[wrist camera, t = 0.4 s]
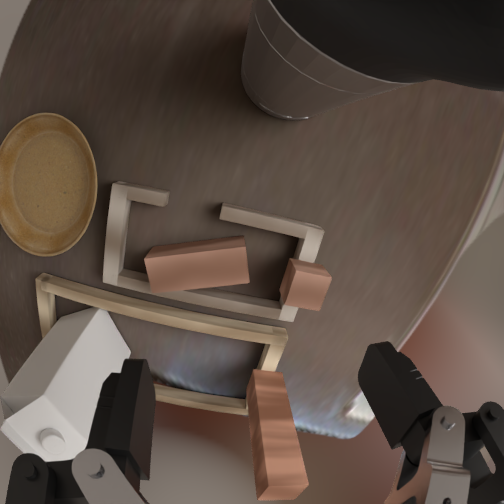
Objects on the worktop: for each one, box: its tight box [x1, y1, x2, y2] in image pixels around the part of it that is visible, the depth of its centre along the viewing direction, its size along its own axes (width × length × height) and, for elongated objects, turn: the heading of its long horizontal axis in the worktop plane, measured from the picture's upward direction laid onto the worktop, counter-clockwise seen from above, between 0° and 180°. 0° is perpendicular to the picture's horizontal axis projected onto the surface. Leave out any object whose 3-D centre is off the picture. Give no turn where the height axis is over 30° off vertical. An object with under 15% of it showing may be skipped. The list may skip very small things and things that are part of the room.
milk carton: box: [0, 307, 131, 462], centre depth 22 cm, size 7×7×19 cm
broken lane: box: [103, 181, 332, 322], centre depth 26 cm, size 10×21×5 cm, turn 76°
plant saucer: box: [0, 113, 97, 256], centre depth 24 cm, size 15×15×3 cm
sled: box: [36, 273, 309, 500], centre depth 24 cm, size 13×30×17 cm, turn 76°
